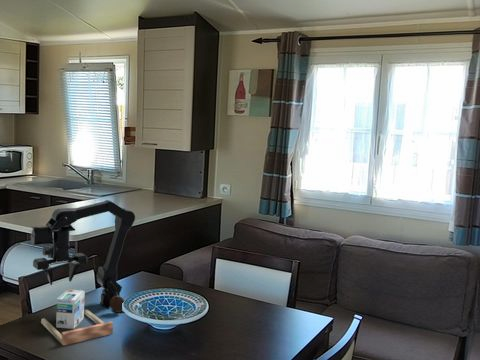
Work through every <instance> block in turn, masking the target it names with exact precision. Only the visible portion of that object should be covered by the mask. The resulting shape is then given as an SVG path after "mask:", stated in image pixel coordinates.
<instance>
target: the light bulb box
mask: <svg viewBox="0 0 480 360" xmlns="http://www.w3.org/2000/svg"><path fill="white" fill-rule="evenodd" d="M85 293H86V292H85V290H81V289H79V290H77V289H66V290H65V291H64V292H63V293H62V294H61V295H60V296H58V297H57V298H56V319H55V320H56V323H55V326H56V327H55V329H59V328H60V329H70V330H75V329H76V328H77V326H78V325H79V324H80V323H81V322H82V321H83V319H84V318H85Z"/></svg>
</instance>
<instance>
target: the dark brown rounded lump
mask: <svg viewBox="0 0 480 360" xmlns="http://www.w3.org/2000/svg"><path fill="white" fill-rule="evenodd" d="M124 301H125V299H124V298H123V297H121V296H119V295H118V296H114V297H112V298H111V300H110V306H109V308H108V309H111V310H112V311H113V312H114V313H117V314H118V313H120V314H121V313H124V312H123V311H122V303H123V302H124Z"/></svg>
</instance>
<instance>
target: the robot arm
mask: <svg viewBox="0 0 480 360" xmlns="http://www.w3.org/2000/svg"><path fill="white" fill-rule="evenodd" d="M108 212H109V213H110V214H112V215H113V216H115V217H114V229H115V230H114V234H113V235H112V236H113V237H112V240H111V243H110V247H109V250H108V253H107V256H106V260H105V262H104V264H103V266H98V270H97V273H96V275H95V277H96V281H97V283H98V284H99V285H100V286H101V288H102V290H101V293H100V301H99V304H100V305H101V306H103V307H104V308H106V309H110V308H109V306H110V300H111V298H112V297H114V296H118V295H119V296H120V293H121V291H122V288H123V287H122V285H121V284H119V283H118V282H117V281H118V264H119V260H120V258H121V257H120V256H121V253H122V250H123V246H124V242H125V240H126V236H127V233H128V232H129V231H130V229H131V228H132V227H133V225H134V222H135V220H136V215H135V213H134V212H133V211H131V210H130V209H126V208H123V207H121V206H119V205H117V204H116V203H115V202H114V201H112V200H109V199H106V200H104V201H101V202H96V203H92V204H88V205H83V206H80V207H73V208H72V207H66V208H65V207H64V208H62V207H61V208H56V209H55V210H53V212H52V214H51V217H50V219H49V220H48V221H47V223H46V224H45V225H44V226H42V225H41V226H38V225H37V226H32V230H31V232H30V243H31V246H32V247H33V246H42V245H50V243H52V244H51V247H49V246H43V247H42V255H43V256H47V257H48V258H50V259H47V258H45V257H40V258H34V259H33V262H32V267H34V269H36V270H38V271H43V272H44V273H45V274H46V276H47V280H48V282H49V285H50V286H53V281H54V279H53V276H54V275H53V268H52V267H51V266H52V265H57V264H58V265H59V264H66V263H68V266H69V268H68V269H69V271H68V281H69V283H71V282H72V280H73V278H74V276H75V274H76V273H77V271H78V269H80V268H79V267H81V266H82V264H87V263H88V256H87V255H85V254H84V253H82V252H78V253H72V255H71V256H70V250H71V246H70V232H73V231H76V229H75V227H73V225H72V224H74V223H75V222H77V221H78V220H81V219H85V218H88V217H93V216H96V215H100V214H104V213H108ZM120 297H121V296H120Z"/></svg>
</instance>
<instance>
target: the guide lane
mask: <svg viewBox="0 0 480 360" xmlns="http://www.w3.org/2000/svg"><path fill="white" fill-rule="evenodd" d="M84 316H86V317H88V318H89V319H90V320H91V321H93V322H94V323H95V324H94V325H89V326H85V327H79V328H74V329H70V330H67V331H62V332H61V333H60V332H59V331H58V330H57V328H56V327H54V326H53V324H51V323H50V322H49V321H48V320H47V319H46V318H45V317H44V318H41V321H40V323H41V325H43V327H44V328H46V329H47V330H48V332H49V333H50V334H51V335H53V337H54V338H55V339H56V340H57V341H58V343H60V344H61V346H67V345H73V344H76V343H80V342H84V341H88V340H93V339H98V338H100V337H104V336H105V337H106V336H109V335H113V334H114V322H113V321H111V320H110V321H107V322H104V321H103V320H102V319H100V318H99V317H97V315H95V314H94V313H93V312H91V311H90V310H89V309H84Z"/></svg>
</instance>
